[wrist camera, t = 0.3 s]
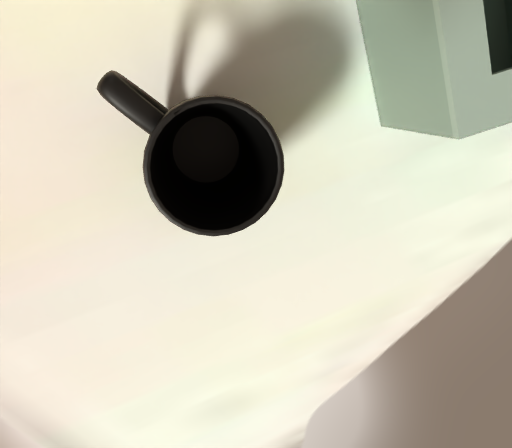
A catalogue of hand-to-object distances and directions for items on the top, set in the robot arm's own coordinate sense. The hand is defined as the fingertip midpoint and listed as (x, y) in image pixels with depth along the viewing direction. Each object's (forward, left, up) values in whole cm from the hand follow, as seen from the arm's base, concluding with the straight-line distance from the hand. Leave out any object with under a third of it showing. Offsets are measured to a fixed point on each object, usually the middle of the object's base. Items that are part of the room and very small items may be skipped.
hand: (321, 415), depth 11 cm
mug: (-5, -1, -28) cm, 28 cm away
